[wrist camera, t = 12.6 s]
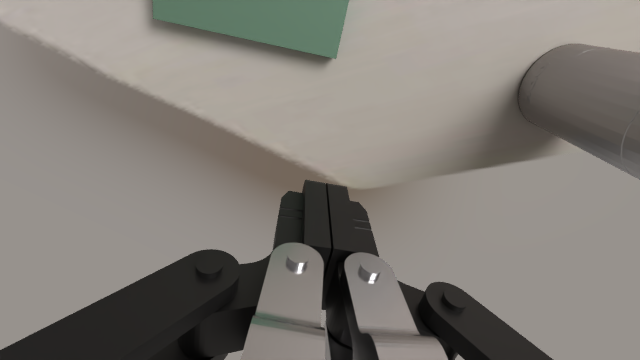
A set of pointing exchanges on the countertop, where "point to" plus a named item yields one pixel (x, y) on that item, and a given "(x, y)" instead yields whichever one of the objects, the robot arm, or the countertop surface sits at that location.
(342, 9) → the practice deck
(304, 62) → the countertop surface
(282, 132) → the countertop surface
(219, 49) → the countertop surface
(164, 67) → the countertop surface
